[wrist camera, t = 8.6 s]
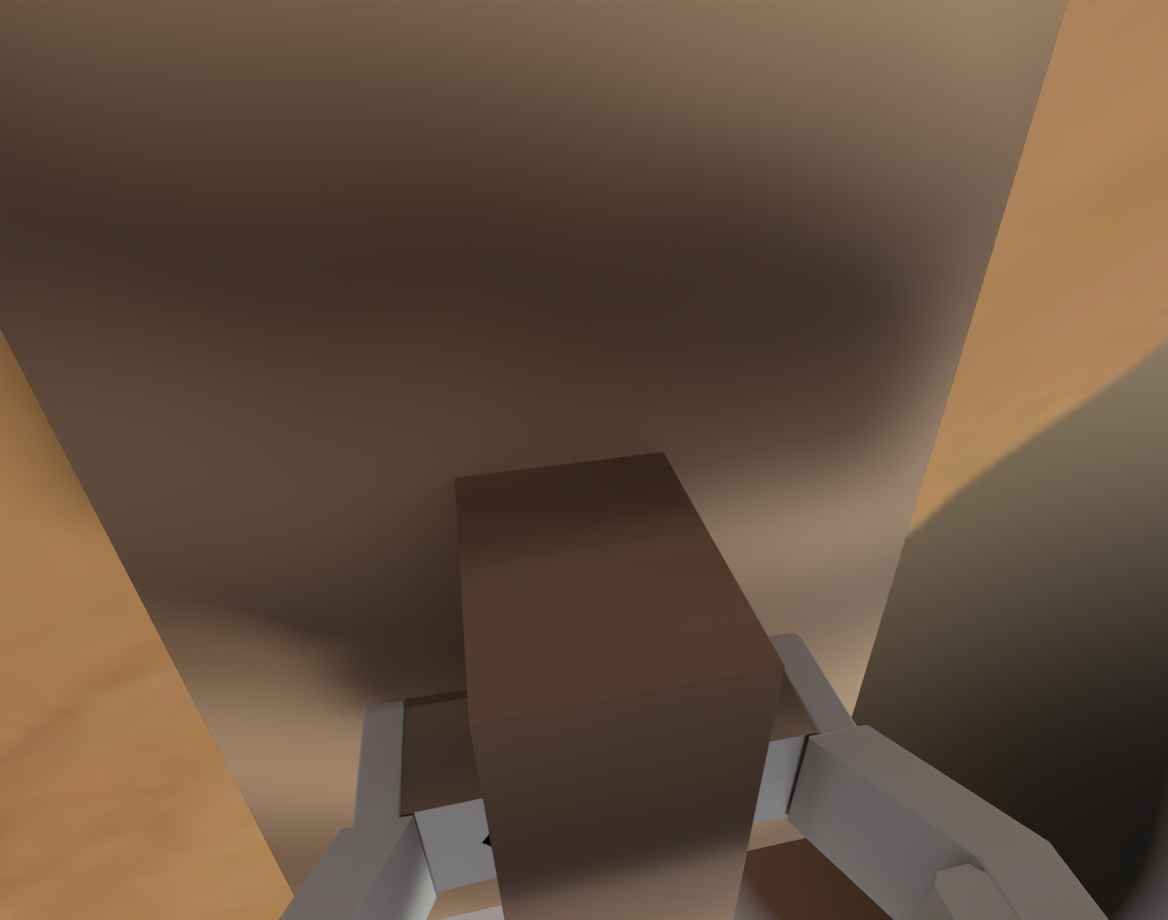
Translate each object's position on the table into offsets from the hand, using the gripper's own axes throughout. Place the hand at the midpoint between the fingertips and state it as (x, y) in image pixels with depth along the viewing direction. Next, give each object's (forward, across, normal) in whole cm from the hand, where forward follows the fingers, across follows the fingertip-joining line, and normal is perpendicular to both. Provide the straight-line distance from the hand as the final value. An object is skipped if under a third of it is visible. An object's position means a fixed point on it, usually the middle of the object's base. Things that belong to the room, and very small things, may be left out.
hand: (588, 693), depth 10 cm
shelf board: (+3, 0, 0) cm, 3 cm away
